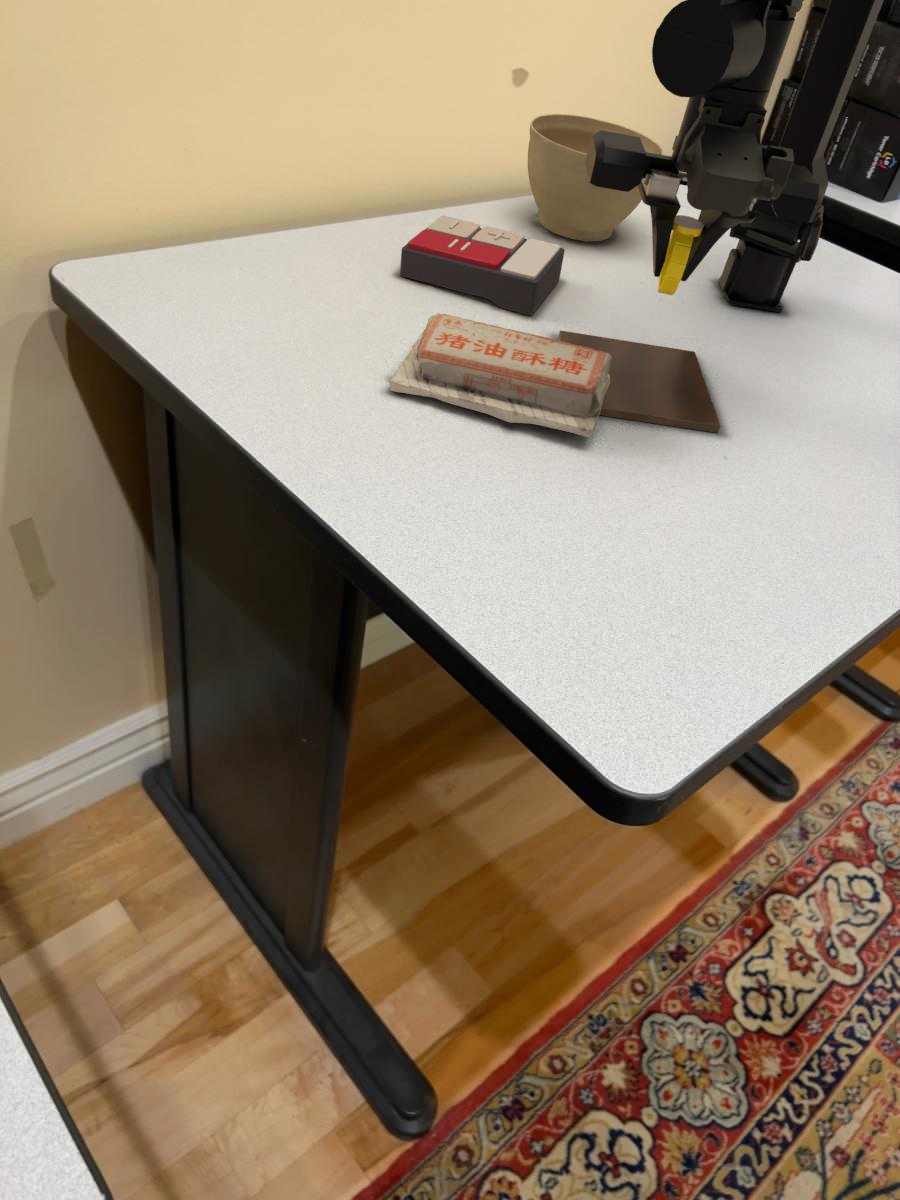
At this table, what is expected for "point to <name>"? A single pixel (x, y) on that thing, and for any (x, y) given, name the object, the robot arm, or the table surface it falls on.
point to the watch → (678, 252)
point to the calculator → (484, 263)
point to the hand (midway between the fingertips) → (669, 277)
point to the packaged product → (507, 374)
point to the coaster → (652, 383)
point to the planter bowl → (576, 177)
